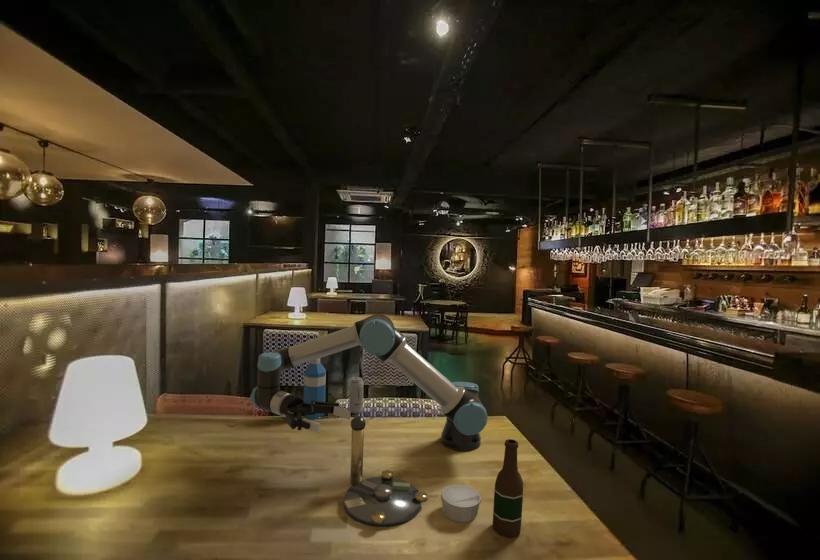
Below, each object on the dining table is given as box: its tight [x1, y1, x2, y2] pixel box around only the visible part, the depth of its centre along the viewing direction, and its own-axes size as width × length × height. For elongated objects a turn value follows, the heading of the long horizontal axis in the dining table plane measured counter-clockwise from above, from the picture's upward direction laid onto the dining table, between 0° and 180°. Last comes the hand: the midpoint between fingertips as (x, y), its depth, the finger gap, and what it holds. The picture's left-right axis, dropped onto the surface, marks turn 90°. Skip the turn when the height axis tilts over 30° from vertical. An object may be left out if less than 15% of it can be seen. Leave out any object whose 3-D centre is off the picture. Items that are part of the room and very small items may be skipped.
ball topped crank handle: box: [349, 415, 392, 501], centre depth 128 cm, size 15×5×21 cm, turn 57°
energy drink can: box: [348, 376, 365, 415], centre depth 195 cm, size 6×6×15 cm
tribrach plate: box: [343, 469, 429, 528], centre depth 126 cm, size 24×26×3 cm
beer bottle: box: [492, 438, 524, 539], centre depth 116 cm, size 8×8×24 cm
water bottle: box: [302, 358, 327, 420], centre depth 189 cm, size 9×9×25 cm
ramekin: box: [440, 484, 482, 523], centre depth 123 cm, size 11×11×5 cm
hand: (335, 421), depth 135 cm, fingers open, 13 cm apart
